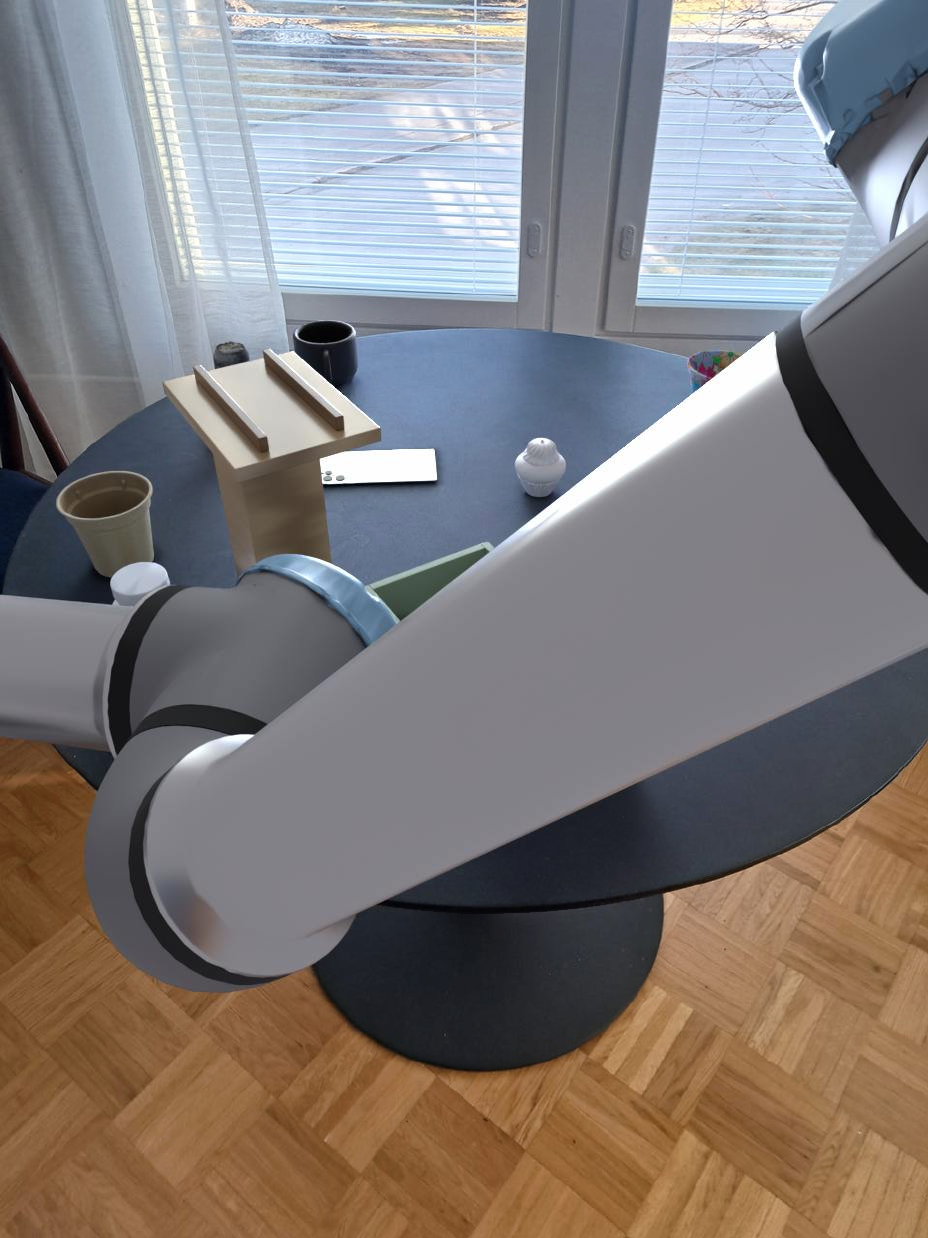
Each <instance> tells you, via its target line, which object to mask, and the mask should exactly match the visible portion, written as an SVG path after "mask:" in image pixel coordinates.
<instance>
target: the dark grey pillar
mask: <svg viewBox="0 0 928 1238" xmlns="http://www.w3.org/2000/svg"><path fill="white" fill-rule="evenodd" d="M212 358H213V364H214V369H219V368H223V367H227V366H231V365H236V364H240V363H244V362H248V361H251V360H250V353H249V351H248V350H247V348H246V346H245V345H244V344H243V343H241V342H236V341H231V340H229V341H227V342H226V341H225V342H224V343H219V344H218V345H216V346H215V349H214V351H213V353H212Z"/></svg>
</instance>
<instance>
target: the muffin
mask: <svg viewBox="0 0 928 1238" xmlns="http://www.w3.org/2000/svg"><path fill="white" fill-rule="evenodd" d="M566 468H567V465H566V460H565V458H564V457H563V456H562V455H561V453H560V452H559V451H558V449H557V445H556V443H555V442H553V441H552V440H551V439H549V438H546V437H540V438H539V437H537V438H533V439H532V440H531V441H529V442H528V444H527V445H526V448H525V450H524V451H523V452H521V453H520V454H519V455H518V456H517V458H516V459H515V462H514V469H515V472H516V476H517V478H518V479H519V481H520V484H521V485H522V488H523V489H524V491H525V492H526V494H528V495H529V496H532V497H535V498H543V497H547V496H549V495H551V494H552V492H553V491H554V490H555V489H556V487H557V486H558V485H559V483H560V482H561V481H562V479H563V475H564V474H565V472H566Z"/></svg>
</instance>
